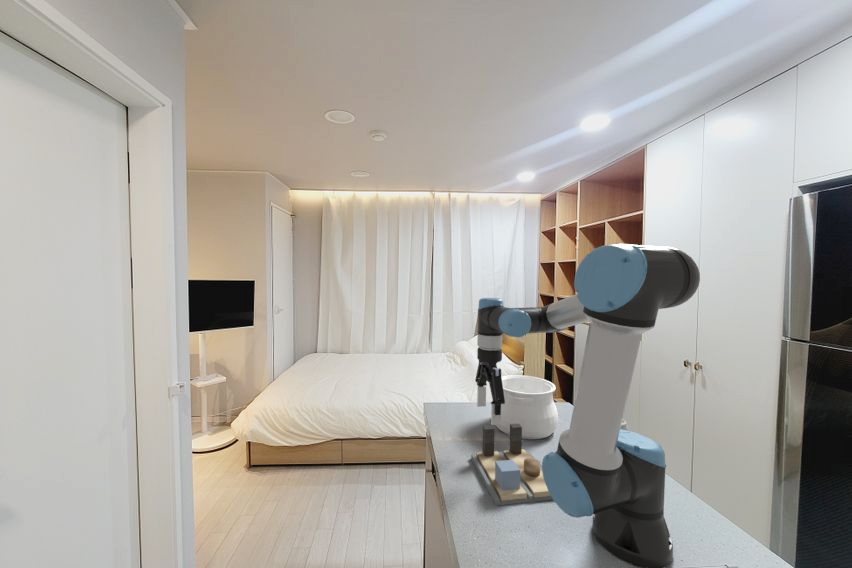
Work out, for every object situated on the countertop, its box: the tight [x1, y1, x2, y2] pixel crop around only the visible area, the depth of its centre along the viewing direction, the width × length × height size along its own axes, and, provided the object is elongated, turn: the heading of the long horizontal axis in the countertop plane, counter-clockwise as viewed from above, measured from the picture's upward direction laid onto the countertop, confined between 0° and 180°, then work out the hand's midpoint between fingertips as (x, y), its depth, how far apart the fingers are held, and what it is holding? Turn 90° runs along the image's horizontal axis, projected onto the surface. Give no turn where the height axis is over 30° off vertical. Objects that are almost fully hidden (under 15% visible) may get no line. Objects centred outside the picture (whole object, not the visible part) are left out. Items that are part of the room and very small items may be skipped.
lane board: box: [470, 449, 554, 506], centre depth 98 cm, size 22×19×2 cm
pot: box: [495, 374, 559, 440], centre depth 130 cm, size 26×24×17 cm
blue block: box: [495, 460, 520, 490], centre depth 92 cm, size 5×5×5 cm
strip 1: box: [475, 424, 527, 501], centre depth 98 cm, size 21×7×10 cm, turn 9°
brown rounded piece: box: [524, 458, 541, 477], centre depth 97 cm, size 4×4×3 cm
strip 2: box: [502, 424, 551, 498], centre depth 99 cm, size 21×7×10 cm, turn 9°
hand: (488, 414), depth 107 cm, fingers open, 13 cm apart
